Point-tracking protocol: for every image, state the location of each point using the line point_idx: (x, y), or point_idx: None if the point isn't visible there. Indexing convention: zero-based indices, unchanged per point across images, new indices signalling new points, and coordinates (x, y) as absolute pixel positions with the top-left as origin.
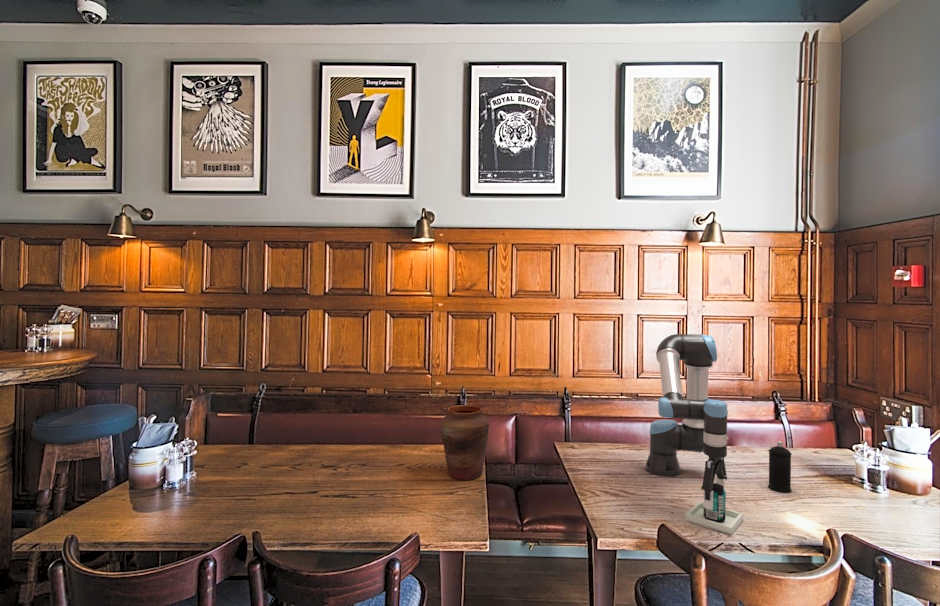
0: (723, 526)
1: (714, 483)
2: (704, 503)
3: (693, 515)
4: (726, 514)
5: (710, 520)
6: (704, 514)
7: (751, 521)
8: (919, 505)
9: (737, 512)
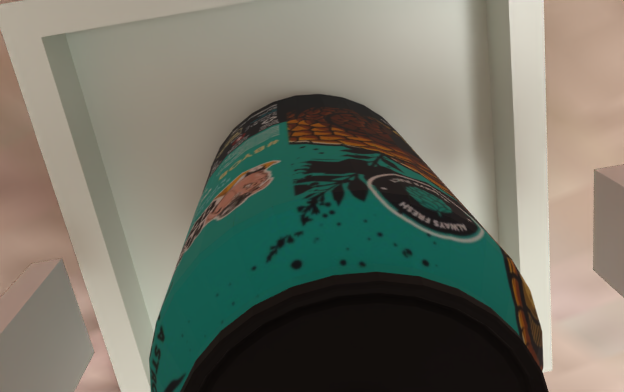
0: (120, 381)
1: (533, 375)
2: (3, 304)
3: (55, 89)
4: (500, 225)
5: (112, 265)
6: (227, 140)
7: (560, 373)
8: None
9: (543, 329)
